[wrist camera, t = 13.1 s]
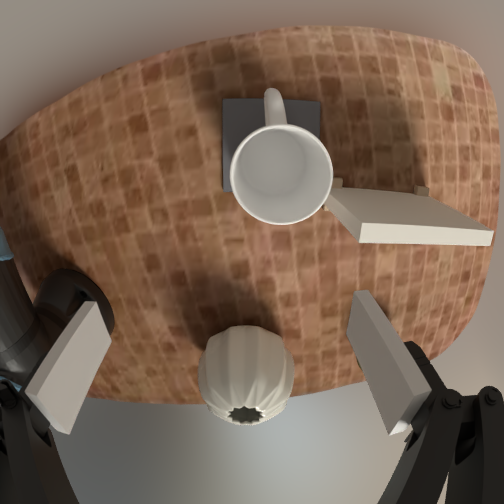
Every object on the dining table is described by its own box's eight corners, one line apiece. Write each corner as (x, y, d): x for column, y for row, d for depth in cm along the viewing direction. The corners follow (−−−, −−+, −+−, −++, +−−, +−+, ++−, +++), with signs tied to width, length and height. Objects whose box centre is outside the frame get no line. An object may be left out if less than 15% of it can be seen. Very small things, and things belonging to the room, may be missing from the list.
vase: (307, 341, 42) (321, 408, 30) (251, 383, 47) (251, 446, 34) (238, 296, 39) (233, 367, 26) (187, 349, 43) (170, 415, 31)
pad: (224, 190, 33) (223, 191, 32) (223, 99, 28) (222, 98, 28) (315, 192, 33) (316, 193, 32) (319, 102, 28) (320, 101, 28)
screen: (318, 208, 33) (356, 257, 21) (320, 176, 32) (363, 207, 19) (424, 214, 33) (486, 256, 21) (428, 187, 32) (496, 220, 19)
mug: (232, 97, 28) (222, 81, 18) (305, 95, 27) (329, 79, 18) (239, 199, 32) (233, 228, 23) (309, 195, 32) (332, 222, 23)
